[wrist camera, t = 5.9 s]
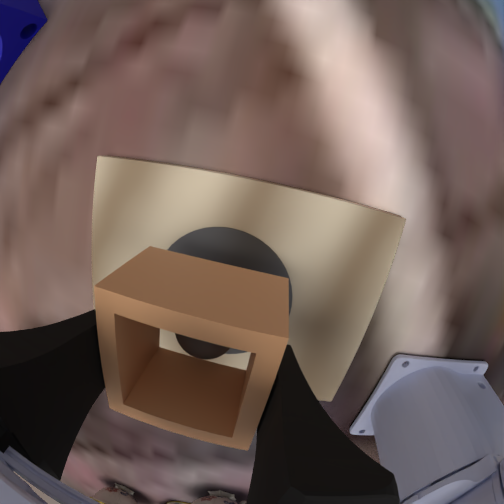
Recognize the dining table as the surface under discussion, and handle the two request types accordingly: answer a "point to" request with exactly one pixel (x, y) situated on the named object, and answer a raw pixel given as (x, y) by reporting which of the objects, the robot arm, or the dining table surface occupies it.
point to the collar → (195, 326)
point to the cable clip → (17, 29)
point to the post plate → (254, 251)
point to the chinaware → (121, 500)
